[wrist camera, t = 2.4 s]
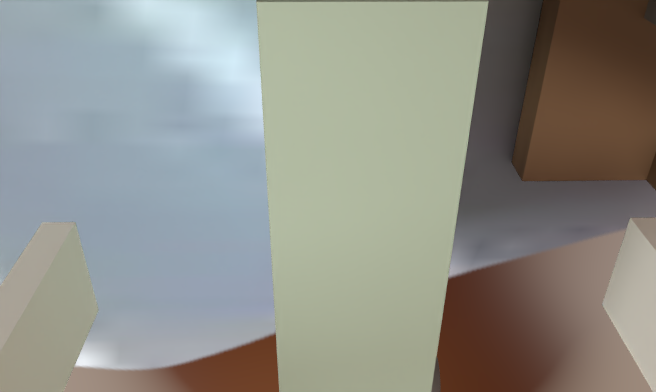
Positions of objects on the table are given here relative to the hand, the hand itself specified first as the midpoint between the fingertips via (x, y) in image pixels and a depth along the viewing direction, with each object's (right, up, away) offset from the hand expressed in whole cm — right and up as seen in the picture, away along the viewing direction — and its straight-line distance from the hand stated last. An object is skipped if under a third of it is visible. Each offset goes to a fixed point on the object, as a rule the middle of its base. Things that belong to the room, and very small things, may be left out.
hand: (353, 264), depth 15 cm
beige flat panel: (0, +6, +9) cm, 10 cm away
